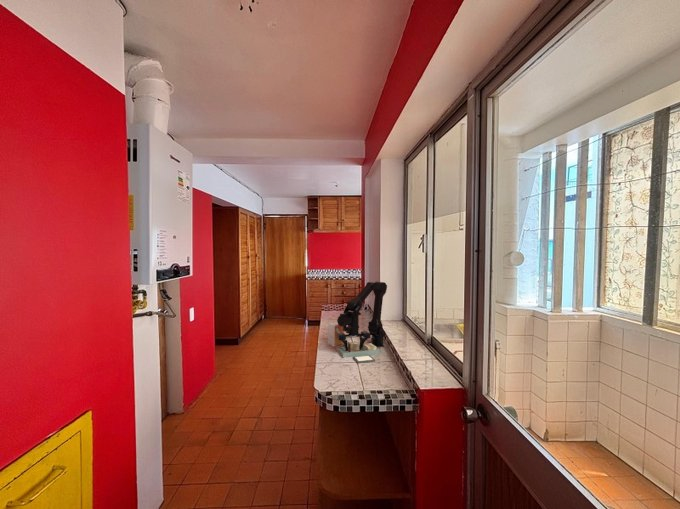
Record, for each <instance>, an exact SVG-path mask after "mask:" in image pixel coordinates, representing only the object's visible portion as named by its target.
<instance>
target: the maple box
mask: <svg viewBox="0 0 680 509" xmlns="http://www.w3.org/2000/svg"><path fill="white" fill-rule="evenodd" d="M376 348H377V347H376V346H374V345H373V344H371V342H370V343H364V344H363V350H362V351H367V350H376Z"/></svg>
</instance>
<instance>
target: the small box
mask: <svg viewBox="0 0 680 509" xmlns="http://www.w3.org/2000/svg"><path fill="white" fill-rule="evenodd" d="M338 333H344V334H345V331H343V326H339V325H338V322H337V321H335V322H331V323H328V325H327V344H328V346H329V345H330V346H333V347H337V346H340V345H344V343H343V342H342V341H340V340H338V339H337V334H338Z"/></svg>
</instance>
